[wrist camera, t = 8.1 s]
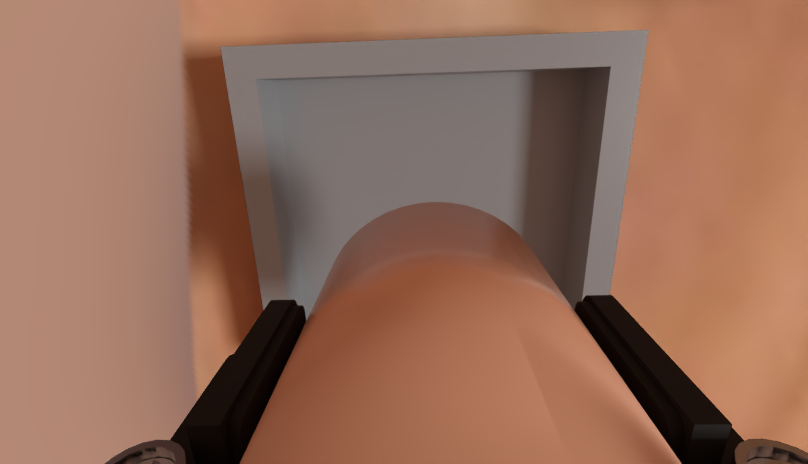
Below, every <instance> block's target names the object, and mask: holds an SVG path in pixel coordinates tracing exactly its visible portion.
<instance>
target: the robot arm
mask: <svg viewBox="0 0 808 464" xmlns="http://www.w3.org/2000/svg"><path fill="white" fill-rule="evenodd" d="M575 312H576V314H577V315H578V317H579V318H580V320H581V321H582V322H583V324H584V325H585V327H586V328H587V330H588V331H589V332H590V334H591V335H592V337H593V338H594V340H595V341H596V342H597V344H598V345H599V347H600V348H601V349H602V351H603V352H604V354H605V355H606V357H607V358H608V359H609V361H610V362H611V364H612V365H613V367H614V368H615V369H616V371H617V372H618V374H619V375H620V377H621V378H622V379H623V381H624V382H625V384H626V385H627V387H628V388H629V389H630V391H631V392H632V394H633V395H634V397H635V398H636V399H637V401H638V402H639V404H640V405H641V406H642V408H643V409H644V411H645V412H646V414H647V415H648V416H649V418H650V419H651V421H652V422H653V424H654V425H655V426H656V428H657V429H658V431H659V432H660V434H661V435H662V436H663V438H664V439H665V441H666V442H667V444H668V445H669V446H670V448H671V449H672V451H673V452H674V454H675V455H676V456H677V458H678V459H679V461H680V462H681V463H682V464H808V453H807V452H805V451H803V450H801V449H799V448H796V447H793V446H790V445H787V444H784V443H781V442H778V441H772V440H767V439H748V440H746V441H744V440H743V439H742V438H741V437H740V436H739V435H738V434H737V432H736V431H735V430H734V429H733V428H732V424H731V423H730V422H729V421H728V419H727V418H726V417H725V416H724V415H723V414H722V413H721V412H720V411H719V410H718V409H717V408H716V407H715V405H714V404H713V403H712V402H711V401H710V400H709V399H708V398H707V397H706V396H705V395H704V394H703V393H702V391H701V390H700V389H699V388H698V387H697V386H696V385H695V384H694V383H693V382H692V381H691V380H690V379H689V377H688V376H687V375H686V374H685V373H684V372H683V371H682V370H681V369H680V368H679V367H678V366H677V365H676V363H675V362H674V361H673V360H672V359H671V358H670V357H669V356H668V355H667V354H666V353H665V352H664V351H663V350H662V348H661V347H660V346H659V345H658V344H657V343H656V342H655V341H654V340H653V339H652V338H651V337H650V336H649V334H648V333H647V332H646V331H645V330H644V329H643V328H642V327H641V326H640V325H639V324H638V323H637V322H636V320H635V319H634V318H633V317H632V316H631V315H630V314H629V313H628V312H627V311H626V310H625V309H624V308H623V306H622V305H621V304H620V303H619V302H618V301H617V300H616V299H615V298H614V297H613V296H612V295H586V296H585V297H584V298H583V301H578V302H577V303H576V305H575ZM305 323H306V315H305V309H304V306H303V305H297V303H296V301H295V300H271V301H270V302H269V303H268V305H267V306H266V308H265V309H264V311H263V312H262V314H261V315H260V317H259V318H258V319H257V321H256V322H255V324H254V325H253V327H252V328H251V330H250V331H249V333H248V334H247V336H246V337H245V339H244V340H243V342H242V343H241V344H240V346H239V347H238V349H237V350H236V352H235V353H234V354H232V355H230V356H229V357H228V358H227V359H226V360H225V362H224V363H223V365H222V366H221V368H220V369H219V370H218V372H217V373H216V375H215V376H214V378H213V379H212V380H211V382H210V383H209V385H208V386H207V388H206V389H205V391H204V392H203V393H202V395H201V396H200V398H199V399H198V401H197V402H196V404H195V405H194V406H193V408H192V409H191V411H190V412H189V414H188V415H187V416H186V418H185V419H184V421H183V423H182V424H181V425H180V427H179V428H178V429H177V431H176V432H175V434H174V435H173V437H172V438H171V440H153V441H148V442H143V443H141V444H138V445H136V446H133V447H131V448H128V449H126V450H125V451H123V452H121V453H119V454H118V455H116V456H114V457H113V458H111V459H110V460H109V461H108V462H106V463H105V464H240V462H241V460H242V457H243V455H244V453H245V451H246V449H247V447H248V445H249V443H250V440H251V438H252V436H253V434H254V432H255V430H256V428H257V425H258V423H259V421H260V419H261V417H262V415H263V413H264V411H265V408H266V406H267V404H268V402H269V400H270V398H271V396H272V393H273V391H274V389H275V387H276V385H277V383H278V381H279V379H280V376H281V374H282V372H283V370H284V368H285V366H286V364H287V361H288V359H289V357H290V355H291V353H292V351H293V349H294V347H295V344H296V342H297V340H298V338H299V336H300V334H301V332H302V329H303V327H304V325H305Z"/></svg>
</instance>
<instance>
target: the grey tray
mask: <svg viewBox="0 0 808 464" xmlns="http://www.w3.org/2000/svg"><path fill="white" fill-rule="evenodd" d="M648 31H649V30H633V31H607V32H582V33H557V34H531V35H506V36H480V37H455V38H430V39H404V40H379V41H353V42H328V43H303V44H277V45H252V46H227V47H220V48H221V54H222V60H223V66H224V72H225V78H226V84H227V91H228V97H229V103H230V109H231V115H232V121H233V127H234V133H235V139H236V145H237V152H238V158H239V164H240V170H241V176H242V182H243V188H244V194H245V200H246V207H247V213H248V219H249V225H250V231H251V237H252V243H253V249H254V255H255V262H256V268H257V274H258V280H259V286H260V292H261V298H262V304H263V310H264V309H265V308H266V306H267V305H268V303H269V302H270V301H271V300H295V301H296V303H297V305H303V306H304V309H305V315H306V321H307V319H308V317H309V315H310V312H311V310H312V308H313V306H314V304H315V302H316V300H317V297H318V295H319V293H320V291H321V289H322V287H323V285H324V283H325V280H326V278H327V276H328V274H329V272H330V270H331V268H332V265H333V263H334V261H335V259H336V258H337V256H338V254H339V253H340V251H341V249H342V248H343V247H344V245H345V244H346V243H347V242H348V241H349V239H350V238H351V237H352V236H353V235H354V234H355V233H356V232H358V231H359V230H360V229H361V228H362V227H363V226H365V225H366V224H368V223H369V222H370V221H372V220H373V219H375V218H377V217H379V216H381V215H383V214H385V213H387V212H389V211H392V210H395V209H397V208H400V207H403V206H408V205H412V204H417V203H427V202H449V203H455V204H461V205H466V206H470V207H473V208H476V209H480V210H482V211H484V212H486V213H489V214H491V215H493V216H495V217H496V218H498V219H500V220H501V221H503V222H504V223H506V224H507V225H509V226H510V227H511V228H512V229H513V230H515V231H516V232H517V233H518V234H519V235H520V236H521V237H522V238H523V240H524V241H525V242H526V243H527V244H528V245H529V247H530V248H531V250H532V251H533V253H534V254H535V255H536V257H537V258H538V260H539V261H540V263H541V264H542V265H543V267H544V268H545V270H546V271H547V273H548V274H549V275H550V277H551V278H552V280H553V281H554V283H555V284H556V285H557V287H558V288H559V290H560V291H561V293H562V294H563V295H564V297H565V298H566V300H567V301H568V302H569V304H570V305H571V307H572V308H573V310H574V311H575V305H576V303H577V302H578V301H583V298H584V297H585V296H586V295H610V289H611V282H612V276H613V269H614V262H615V255H616V248H617V242H618V235H619V228H620V221H621V214H622V208H623V201H624V194H625V187H626V180H627V174H628V167H629V160H630V153H631V147H632V140H633V133H634V126H635V119H636V113H637V106H638V99H639V92H640V85H641V79H642V72H643V65H644V58H645V51H646V45H647V38H648Z"/></svg>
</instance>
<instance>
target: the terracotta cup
mask: <svg viewBox="0 0 808 464" xmlns="http://www.w3.org/2000/svg"><path fill="white" fill-rule="evenodd" d="M240 464H682V463H681V462H680V461H679V459H678V458H677V456H676V455H675V454H674V452H673V451H672V449H671V448H670V446H669V445H668V444H667V442H666V441H665V439H664V438H663V436H662V435H661V434H660V432H659V431H658V429H657V428H656V426H655V425H654V424H653V422H652V421H651V419H650V418H649V416H648V415H647V414H646V412H645V411H644V409H643V408H642V406H641V405H640V404H639V402H638V401H637V399H636V398H635V397H634V395H633V394H632V392H631V391H630V389H629V388H628V387H627V385H626V384H625V382H624V381H623V379H622V378H621V377H620V375H619V374H618V372H617V371H616V369H615V368H614V367H613V365H612V364H611V362H610V361H609V359H608V358H607V357H606V355H605V354H604V352H603V351H602V349H601V348H600V347H599V345H598V344H597V342H596V341H595V340H594V338H593V337H592V335H591V334H590V332H589V331H588V330H587V328H586V327H585V325H584V324H583V322H582V321H581V320H580V318H579V317H578V315H577V314H576V312H575V311H574V310H573V308H572V307H571V305H570V304H569V302H568V301H567V300H566V298H565V297H564V295H563V294H562V293H561V291H560V290H559V288H558V287H557V285H556V284H555V283H554V281H553V280H552V278H551V277H550V275H549V274H548V273H547V271H546V270H545V268H544V267H543V265H542V264H541V263H540V261H539V260H538V258H537V257H536V255H535V254H534V253H533V251H532V250H531V248H530V247H529V245H528V244H527V243H526V242H525V241H524V240H523V238H522V237H521V236H520V235H519V234H518V233H517V232H516V231H515V230H513V229H512V228H511V227H510V226H509V225H507V224H506V223H504V222H503V221H501V220H500V219H498V218H496V217H495V216H493V215H491V214H489V213H486V212H484V211H482V210H480V209H476V208H473V207H470V206H466V205H461V204H455V203H449V202H427V203H417V204H412V205H408V206H403V207H400V208H397V209H395V210H392V211H389V212H387V213H385V214H383V215H381V216H379V217H377V218H375V219H373V220H372V221H370V222H369V223H368V224H366V225H365V226H363V227H362V228H361V229H360V230H359V231H358V232H356V233H355V234H354V235H353V236H352V237H351V238H350V239H349V241H348V242H347V243H346V244H345V245H344V247H343V248H342V249H341V251H340V253H339V254H338V256H337V258H336V259H335V261H334V263H333V265H332V268H331V270H330V272H329V274H328V276H327V278H326V280H325V283H324V285H323V287H322V289H321V291H320V293H319V295H318V297H317V300H316V302H315V304H314V306H313V308H312V310H311V312H310V315H309V317H308V319H307V321H306V323H305V325H304V327H303V329H302V332H301V334H300V336H299V338H298V340H297V342H296V344H295V347H294V349H293V351H292V353H291V355H290V357H289V359H288V361H287V364H286V366H285V368H284V370H283V372H282V374H281V376H280V379H279V381H278V383H277V385H276V387H275V389H274V391H273V393H272V396H271V398H270V400H269V402H268V404H267V406H266V408H265V411H264V413H263V415H262V417H261V419H260V421H259V423H258V425H257V428H256V430H255V432H254V434H253V436H252V438H251V440H250V443H249V445H248V447H247V449H246V451H245V453H244V455H243V457H242V460H241V462H240Z"/></svg>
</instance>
